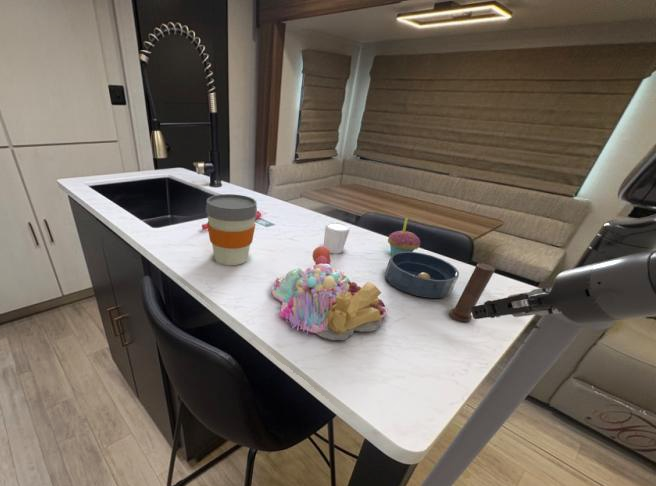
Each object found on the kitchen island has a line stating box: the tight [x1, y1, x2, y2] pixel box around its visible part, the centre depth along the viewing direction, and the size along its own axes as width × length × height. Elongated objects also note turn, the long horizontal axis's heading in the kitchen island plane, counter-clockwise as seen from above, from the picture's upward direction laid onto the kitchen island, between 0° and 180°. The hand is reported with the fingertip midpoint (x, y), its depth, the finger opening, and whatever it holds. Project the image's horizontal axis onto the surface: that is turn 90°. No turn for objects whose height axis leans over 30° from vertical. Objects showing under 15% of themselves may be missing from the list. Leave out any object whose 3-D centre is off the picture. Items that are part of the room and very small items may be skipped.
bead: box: [417, 273, 430, 279], centre depth 74 cm, size 3×3×3 cm
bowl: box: [384, 251, 460, 299], centre depth 75 cm, size 15×15×5 cm
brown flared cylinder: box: [448, 262, 496, 324], centre depth 61 cm, size 4×4×12 cm
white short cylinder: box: [323, 222, 350, 254], centre depth 89 cm, size 7×7×7 cm
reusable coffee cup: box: [205, 193, 258, 266], centre depth 78 cm, size 13×13×15 cm
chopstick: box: [201, 210, 262, 231], centre depth 103 cm, size 24×2×5 cm
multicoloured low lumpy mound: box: [271, 245, 388, 341], centre depth 64 cm, size 25×24×9 cm
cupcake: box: [387, 215, 421, 256], centre depth 86 cm, size 9×8×12 cm
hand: (493, 310), depth 54 cm, fingers open, 8 cm apart
